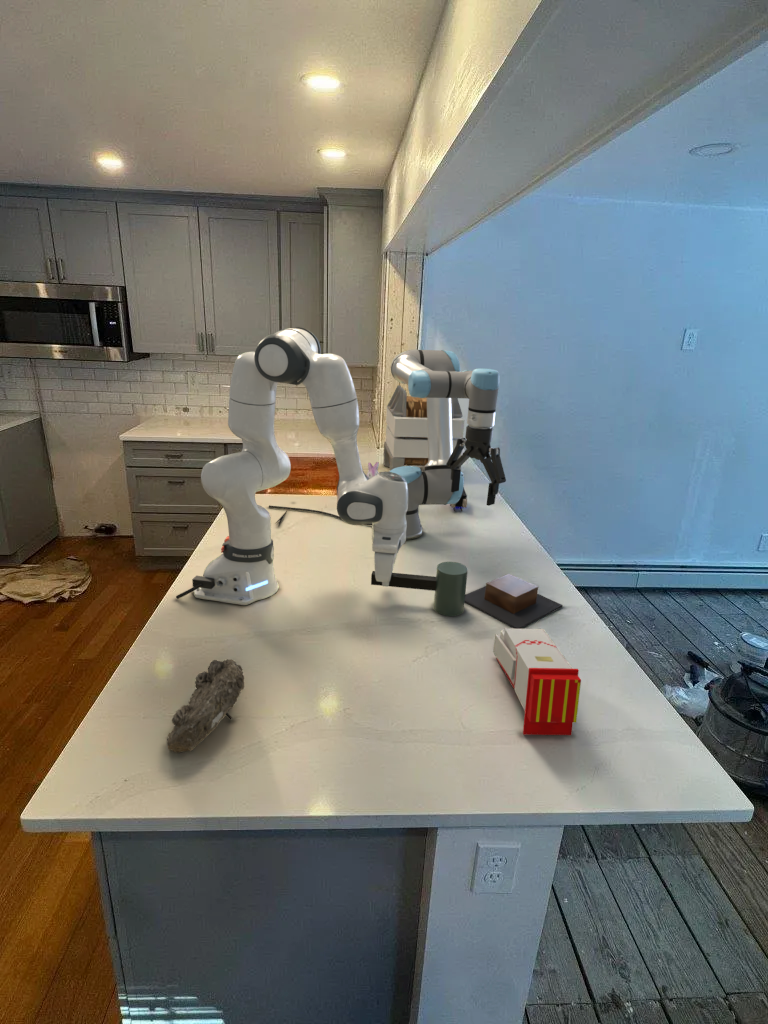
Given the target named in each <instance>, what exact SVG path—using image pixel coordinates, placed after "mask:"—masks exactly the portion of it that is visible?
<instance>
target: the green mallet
mask: <svg viewBox="0 0 768 1024" xmlns="http://www.w3.org/2000/svg"><path fill="white" fill-rule="evenodd" d="M468 571H469V569H468V567H467V566H466V565H465V564H463V563H461V562H457V561H442V562H440V563H438V564H437V565H436V572H435V576H433V575H432V576H431V575H423V574H410V573H400V572H392V575H391V580H390V582H389V586H388V587H392V588H401V589H413V590H422V591H423V590H424V591H433V592H434V597H433V598H434V599H433V610H434V611H435V612H436V613H437V614H439V615H442V616H445V617H457V616H460V615H462V614H463V613H464V611H465V604H466V603H465V595H466V594H467V592H466V591H467V581H468ZM370 576H371V577H370V585H371V586H382V582H378V581H376V578H375V570H372V572H371V575H370ZM382 587H383V586H382Z"/></svg>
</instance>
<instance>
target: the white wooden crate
mask: <svg viewBox="0 0 768 1024" xmlns="http://www.w3.org/2000/svg"><path fill="white" fill-rule="evenodd" d="M407 394H408V393H407V390H406V389H404V388H403V387H402V385H399V384H398V385H397V386H396V388H395V390H394V392H393V394H392V395H391V398H390V400H389V402H388V404H387V405H386V413H385V414H386V415H385V423H386V428H385V438H384V442H383V466H384V467H388V468H389V471H390V470H392V469H394V468H397V467H402V466H416V467H424V466H425V465H426V464H427V463H428V429H427V398H418V397H412V396H411V395H407ZM451 416H452V448H453V450H454V449H455V447H456V443H457V439H460V438H464V431H465V430H464V429H465V419H464V418H463V411H462V408H461V405H460V402H459V398H451ZM462 454H463V451H462V452H461V454H460V456H459V457H458V459H459V458H460V457H461V456H462ZM458 459H457V460H458ZM458 470H461V471H462V466H461V467H460V469H458Z"/></svg>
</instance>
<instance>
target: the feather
mask: <svg viewBox="0 0 768 1024" xmlns="http://www.w3.org/2000/svg"><path fill="white" fill-rule="evenodd" d="M287 512H288V510H286V511H285V512H284V513H283V514H282V515H281V517H280V518H278V520H277V521H276V522H275V523H274V524H276V523H277V524H278V526H277V527H278V528H279V527H280V525H281V524H282V522H283V519H284V518H285V516H286V514H287Z"/></svg>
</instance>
